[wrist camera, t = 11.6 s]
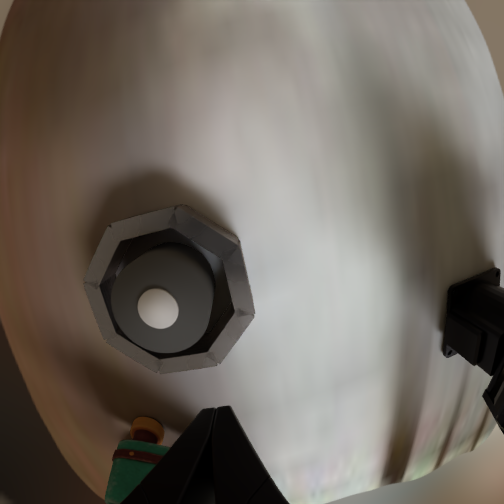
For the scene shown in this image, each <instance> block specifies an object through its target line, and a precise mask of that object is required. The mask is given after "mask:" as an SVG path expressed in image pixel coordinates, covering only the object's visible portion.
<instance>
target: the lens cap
mask: <svg viewBox="0 0 504 504" xmlns="http://www.w3.org/2000/svg"><path fill="white" fill-rule="evenodd" d="M214 292H215V278H214V273H213V270H212V268H211V266H210V264H209V262H208V261H207V260H206V258H205V257H204V256H203V255H202V254H201V253H200V252H199V251H197V250H196V249H194V248H192V247H191V246H188V245H186V244H182V243H177V242H167V243H162V244H159V245H156V246H154V247H153V248H151V249H150V250H148V251H147V252H145V253H144V254H143V255H141V256H140V257H138V258H137V259H136V260H134V261H133V262H131V263H130V264H129V265H127V266H126V267H125V268H124V269H123V270H122V271H121V272H120V273H119V275H118V276H117V278H116V280H115V282H114V285H113V288H112V293H111V305H112V311H113V314H114V317H115V319H116V322H117V323H118V325H119V327H120V328H121V330H122V331H123V332H124V333H125V334H126V336H127V337H128V338H130V339H131V340H132V341H133V342H135V343H136V344H137V345H139V346H141V347H143V348H145V349H148V350H150V351H154V352H159V353H174V352H179V351H182V350H185V349H187V348H189V347H191V346H192V345H194V344H195V343H196V342H197V341H198V340H199V339H200V338H201V337H202V336H203V334H204V332H205V331H206V329H207V326H208V323H209V319H210V314H211V308H212V303H213V298H214Z"/></svg>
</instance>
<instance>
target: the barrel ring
mask: <svg viewBox="0 0 504 504" xmlns="http://www.w3.org/2000/svg"><path fill="white" fill-rule="evenodd" d="M169 228H173V229H175V230H177V231H178V232H180V233H181V234H183V235H184V236H186V237H188V238H189V239H191V240H192V241H194V242H196V243H197V244H199V245H200V246H202V247H204V248H205V249H207V250H208V251H210V252H212V253H213V254H215V255H216V256H218V257H220V258H221V259H222V261H223V265H224V269H225V273H226V277H227V281H228V286H229V290H230V294H231V298H232V301H231V303H230V304H229V306H228V307H227V309H226V310H225V311H224V313H223V314H222V316H221V317H220V319H219V320H218V322H217V323H216V325H215V326H214V328H213V329H212V331H211V332H209V333H204V334H203V336H202V337H201V338H200V339H199V340H198V341H197V342H196V343H195V344H194V345H192V346H191V347H189V348H187V349H185V350H182V351H179V352H174V353H159V352H154V351H150V350H148V349H145V348H143V347H141V346H139V345H137V344H136V343H135V342H133V341H132V340H131V339H130V338H128V337H127V336H126V334H125V333H124V332H123V331H122V330H121V328H120V327H119V325H118V323H117V322H116V319H115V317H114V314H113V311H112V305H111V293H112V288H113V285H114V282H115V280H116V278H117V277H116V274H115V273H116V271H117V269H118V267H119V265H120V263H121V261H122V259H123V257H124V255H125V253H126V251H127V249H128V247H129V245H130V243H131V241H132V239H133V238H134V237H137V236H141V235H145V234H149V233H153V232H157V231H161V230H165V229H169ZM84 281H85V283H84V287H85V290H86V293H87V296H88V299H89V302H90V305H91V308H92V311H93V313H94V316H95V319H96V321H97V324H98V326H99V329H100V332H101V334H102V336H103V339H104V340H105V339H107V341H106V343H108V344H109V345H111V346H112V347H114V348H116V349H117V350H119V351H120V352H122V353H123V354H125V355H127V356H128V357H130V358H132V359H133V360H135V361H137V362H138V363H140V364H142V365H143V366H145V367H147V368H148V369H150V370H152V371H154V372H156V373H157V372H158V371H159V372H160V374H164V373H172V372H180V371H187V370H194V369H201V368H207V367H213V366H217V363H219V364H221V362H222V361H223V360H224V358H225V357H226V356H227V354H228V353H229V352H230V350H231V349H232V347H233V346H234V345H235V343H236V342H237V341H238V339H239V338H240V336H241V335H242V334H243V332H244V331H245V330H246V328H247V327H248V325H249V324H250V323H251V321H252V320H253V318H254V314H255V309H254V304H253V298H252V293H251V289H250V284H249V280H248V275H247V271H246V266H245V262H244V257H243V253H242V248H241V244H240V241H238V237H236V236H234V235H233V234H231V233H230V232H228V231H227V230H225V229H223V228H222V227H220V226H219V225H217V224H215V223H214V222H212V221H211V220H209V219H208V218H206V217H204V216H203V215H201V214H200V213H198V212H196V211H195V210H193V209H192V208H190V207H188V206H187V205H182V204H181V205H177V206H173V207H169V208H165V209H161V210H158V211H154V212H150V213H146V214H142V215H139V216H135V217H131V218H128V219H124V220H121V221H117V222H114V223H111V225H109V226H108V227H107V229H106V231H105V233H104V235H103V237H102V239H101V241H100V243H99V245H98V248H97V250H96V252H95V254H94V256H93V259H92V261H91V263H90V265H89V268H88V270H87V272H86V275H85V277H84Z"/></svg>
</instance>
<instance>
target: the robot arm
mask: <svg viewBox="0 0 504 504" xmlns="http://www.w3.org/2000/svg"><path fill="white" fill-rule="evenodd" d="M454 290H455V291H454ZM453 292H454V293H453ZM457 353H458V354H460V355H461V356H462V357H463V358H465V359H466V360H467V361H468V362H470V363H471V364H472V365H473V366H475V365H478V366H479V367H480V368H481V369H483V370H484V371H485V372H486V373H488V374H489V375H490V376H493V377H492V379H491V381H490V383H489V385H488V387H487V389H485V391H484V393H483V395H482V397H483V398H484V400H485V402H486V404H487V405H488V407H489V409H490V411H491V413H492V415H493V416H494V418H495V420H496V422H497V424H498V426H499V427H500V429H501V431H502V432H503V434H504V288H502V287H500V269H499V268H493V269H490V270H488V271H486V272H483V273H481V274H479V275H476V276H474V277H471V278H469V279H466V280H464V281H461V282H459V283H456V284H454V285H452V286H450V288H449V290H448V300H447V317H446V330H445V340H444V349H443V355H444V356H445V357H446V358H449V357H451V356H453V355H455V354H457ZM120 504H289V502H288V501H287V500H286V499H285V497H284V496H283V495H282V493H281V492H280V490H279V489H278V487H277V486H276V484H275V483H274V481H273V479H272V478H271V477H270V475H269V473H268V471H267V470H266V468H265V466H264V465H263V463H262V461H261V460H260V458H259V456H258V455H257V453H256V451H255V449H254V448H253V446H252V444H251V442H250V441H249V439H248V437H247V435H246V433H245V432H244V430H243V428H242V426H241V424H240V422H239V421H238V419H237V417H236V415H235V413H234V411H233V409H232V407H231V406H222V407H218V408H217V409H216V408H206V409H202V410H201V411H200V413H199V414H198V415H197V416H196V418H195V419H194V420H193V421H192V422H191V424H190V425H189V426H188V427H187V429H186V430H185V431H184V432H183V433H182V435H181V436H180V437H179V438H178V439H177V441H176V442H175V443H174V444H173V445H172V447H171V448H170V449H169V450H168V451H167V452H166V454H165V455H164V456H163V457H162V458H161V459H160V461H159V462H158V463H157V464H156V465H155V466H154V467H153V469H152V470H151V471H150V472H149V473H148V474H147V475H146V476H145V478H144V479H143V480H142V481H141V482H140V484H138V485H137V486H136V487H135V488H134V490H133V491H132V492H131V493H130V494H129V495H128V496H127V497H126V498H125V499H124V500H123V501H122V502H121V503H120Z"/></svg>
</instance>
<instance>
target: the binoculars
mask: <svg viewBox="0 0 504 504" xmlns="http://www.w3.org/2000/svg"><path fill="white" fill-rule="evenodd" d="M130 435H131V437H132V438H133V439H132V440H122V441H120V442H119V444H118V447H117V450H115V452H114V455H113V458H112V461H113V465H112V469H111V473H110V477H109V481H108V486H107V490H106V495H105V502H106V504H120V503H121V502H122V501H123V500H124V499H125V498H126V497H127V496H128V495H129V494H130V493H131V492H132V491H133V490H134V488H135V487H136V486H137V485H138V484H140V482H141V481H142V480H143V479H144V478H145V476H146V475H147V474H148V473H149V472H150V471H151V470H152V469H153V467H154V466H155V465H156V464H157V463H158V462H159V461H160V459H161V458H162V457H163V456H164V455H165V454H166V452H167V451H168V450H169V449H170V447H167V446H162V445H161V444H162V442H163V438H164V429H163V427H162V426H161V424H160V423H158V422H157V421H156V420H154V419H152V418H148V417H138V418H136V419H135V420H134V421H133V424H132V427H131V430H130Z"/></svg>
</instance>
